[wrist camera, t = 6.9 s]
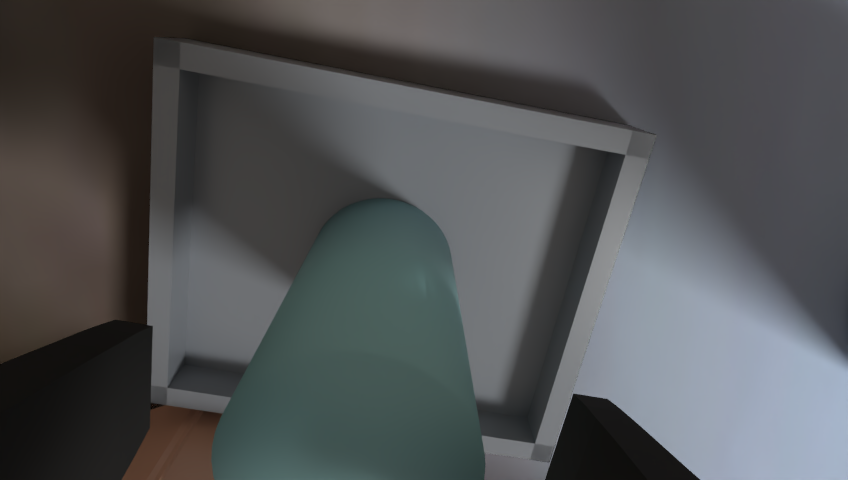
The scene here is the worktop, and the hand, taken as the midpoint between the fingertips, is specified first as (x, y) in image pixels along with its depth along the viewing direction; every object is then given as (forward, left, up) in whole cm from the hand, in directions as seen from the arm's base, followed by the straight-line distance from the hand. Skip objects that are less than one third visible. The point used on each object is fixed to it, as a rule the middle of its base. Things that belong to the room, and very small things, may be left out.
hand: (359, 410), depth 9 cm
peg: (0, 0, -7) cm, 7 cm away
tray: (0, 0, -7) cm, 7 cm away
